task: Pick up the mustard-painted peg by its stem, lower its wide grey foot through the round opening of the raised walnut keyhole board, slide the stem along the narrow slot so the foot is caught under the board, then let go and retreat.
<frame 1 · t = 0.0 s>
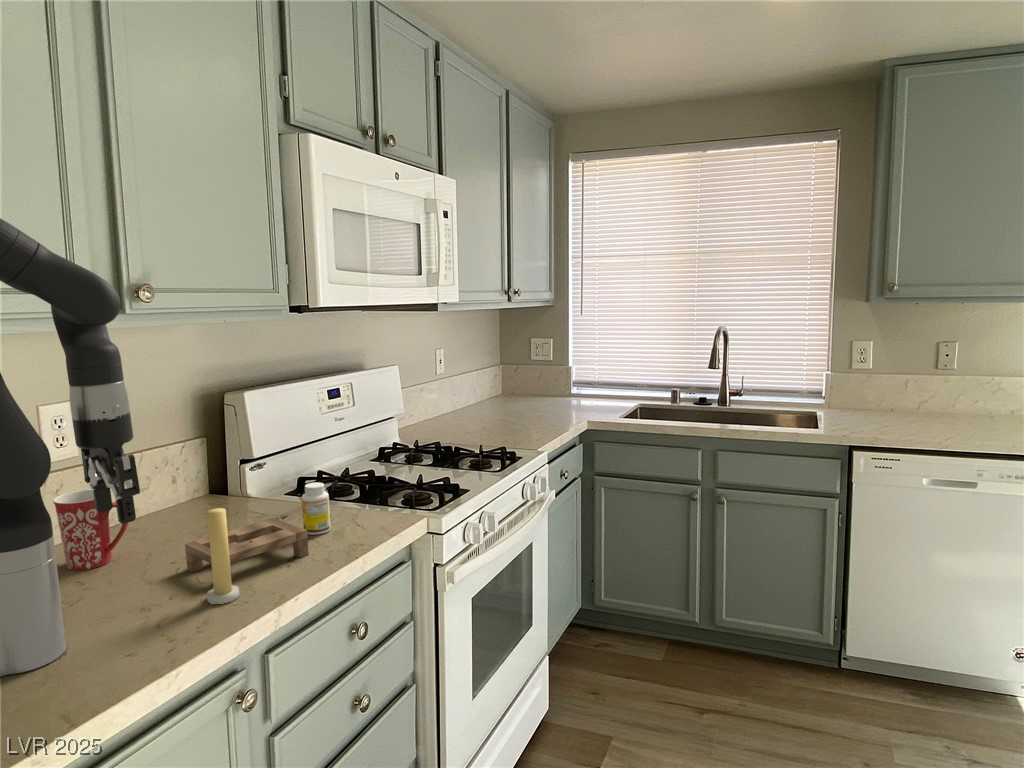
hand: (115, 516, 106), 17 cm above the worktop, tool pointing down, fingers open, 8 cm apart
mug: (98, 564, 133), on the worktop
keyhole board: (249, 562, 132), on the worktop
peg: (223, 598, 116), on the worktop
supplement bottle: (317, 532, 148), on the worktop
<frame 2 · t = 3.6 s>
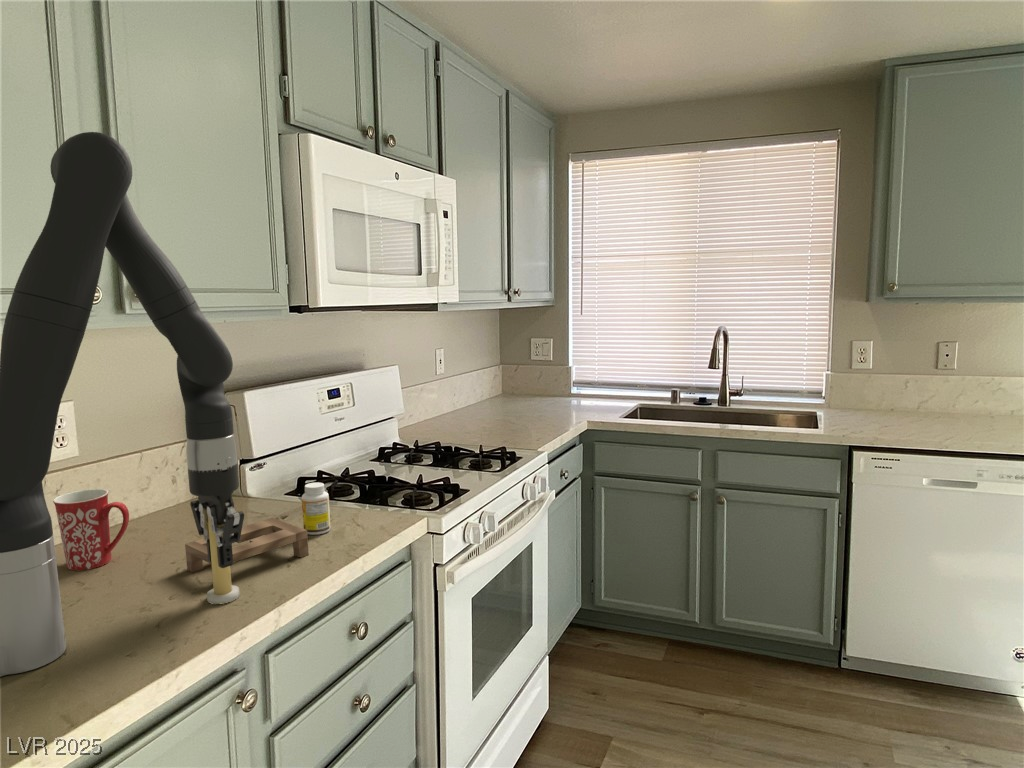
hand: (220, 563, 115), 6 cm above the worktop, tool pointing down, fingers closed on peg, 2 cm apart
peg: (223, 598, 116), on the worktop, touching gripper
everything else where it was.
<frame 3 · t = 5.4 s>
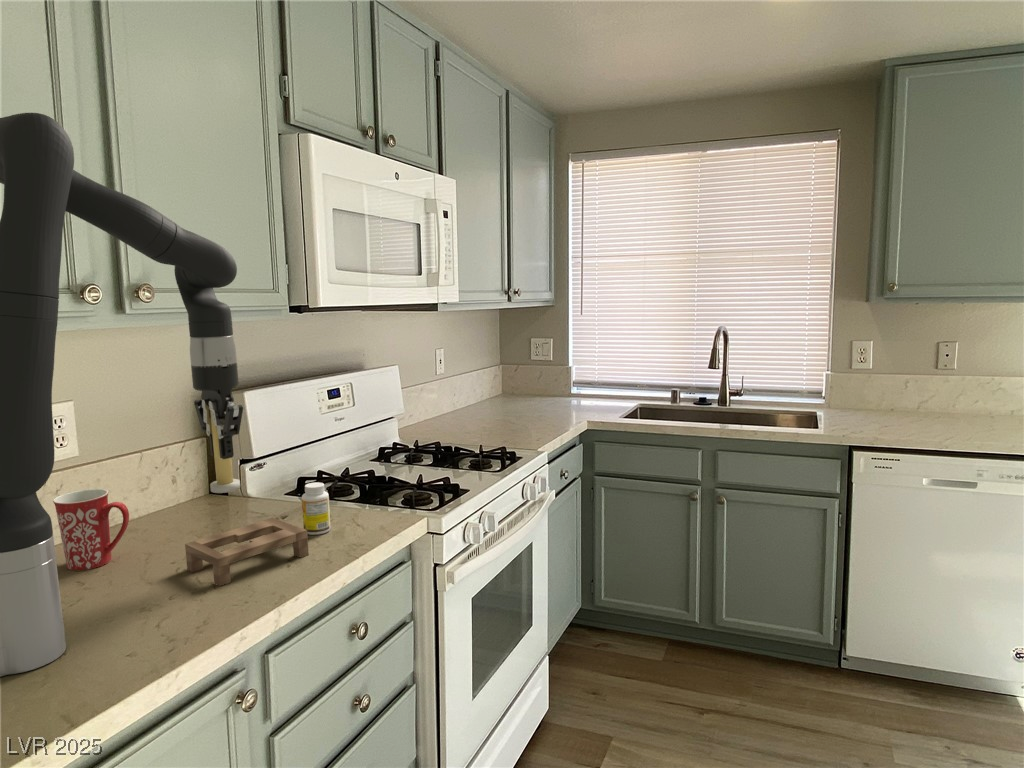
hand: (222, 456, 125), 21 cm above the worktop, tool pointing down, fingers closed on peg, 2 cm apart
peg: (225, 488, 126), point 15 cm above the worktop, touching gripper
everything else where it was.
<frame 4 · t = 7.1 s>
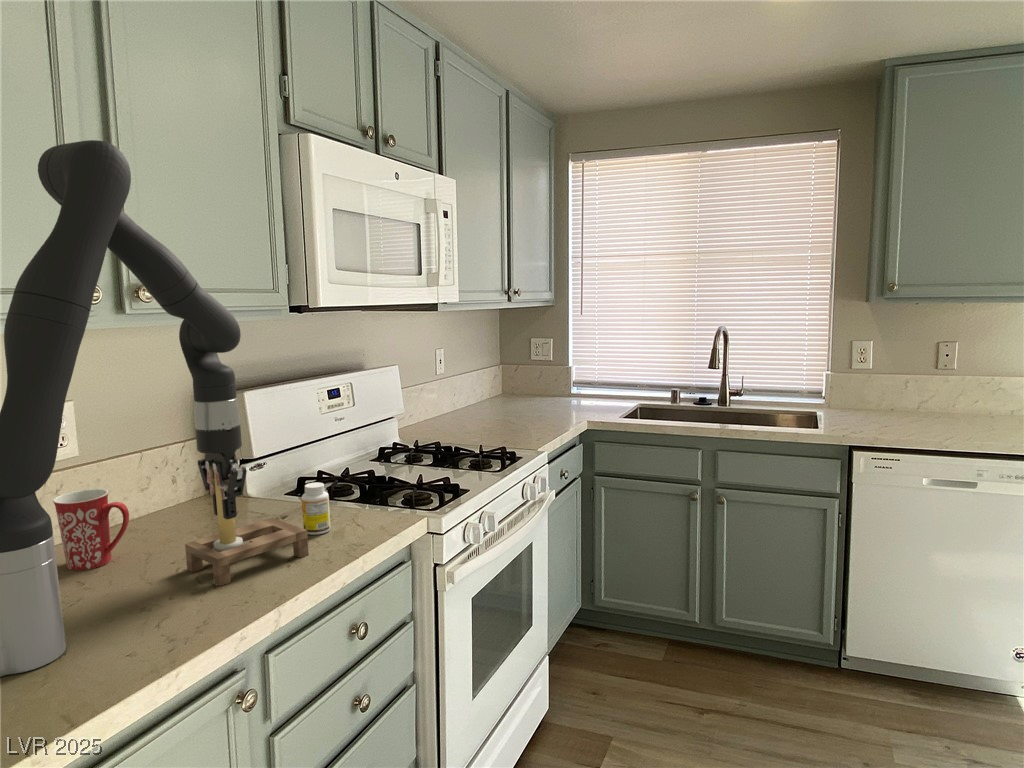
hand: (225, 515, 127), 10 cm above the worktop, tool pointing down, fingers closed on peg, 2 cm apart
peg: (228, 547, 128), point 4 cm above the worktop, touching gripper
everything else where it was.
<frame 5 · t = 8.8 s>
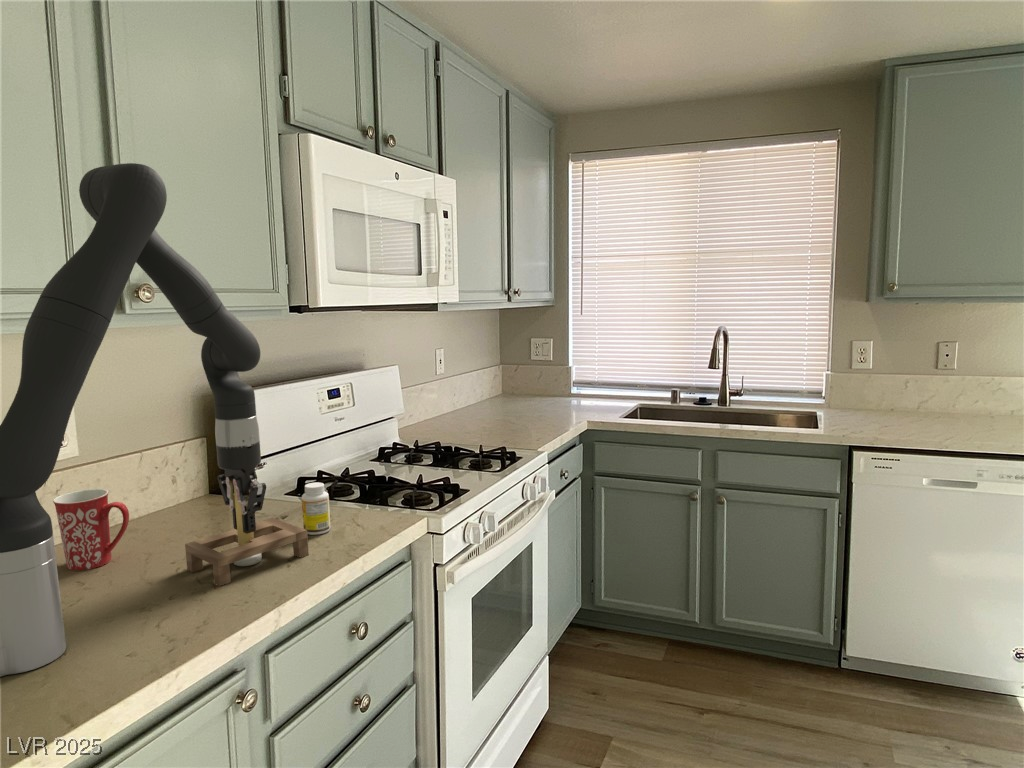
hand: (245, 529, 131), 6 cm above the worktop, tool pointing down, fingers closed on peg, 2 cm apart
peg: (247, 560, 132), on the worktop, touching gripper
everything else where it was.
when the fingers open (6 cm above the worktop, at t = 10.6 s): peg stays where it is, on the worktop.
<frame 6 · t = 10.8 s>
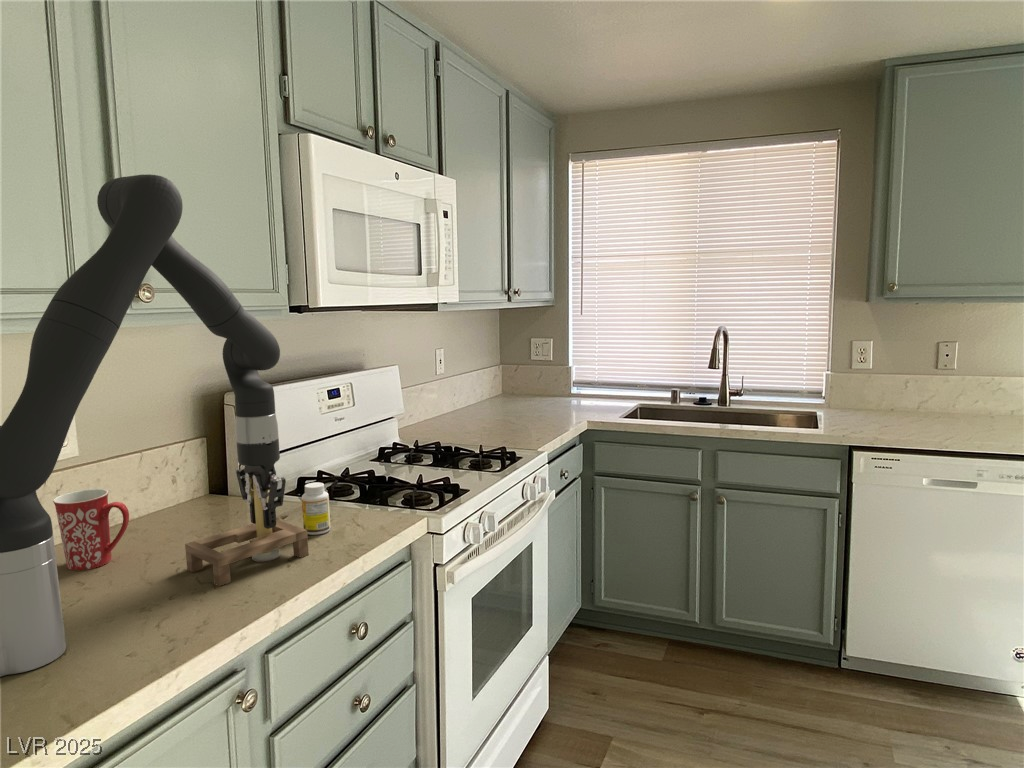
hand: (263, 524, 133), 6 cm above the worktop, tool pointing down, fingers open, 4 cm apart
peg: (266, 556, 134), on the worktop
everything else where it was.
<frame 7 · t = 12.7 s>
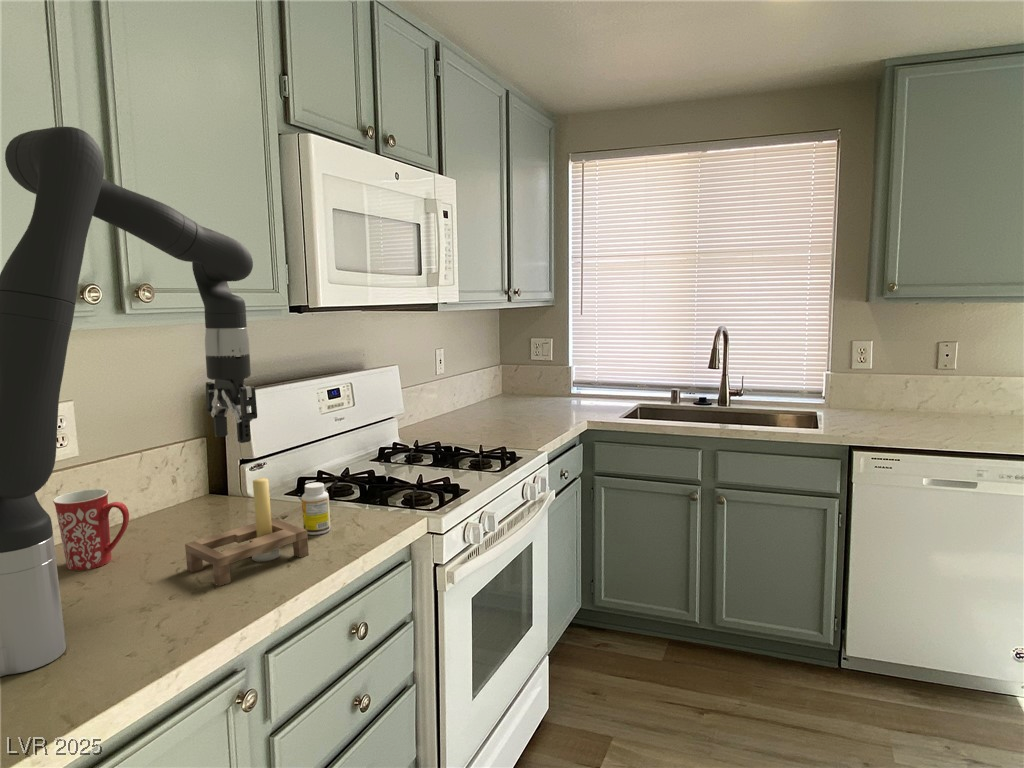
hand: (232, 439, 129), 24 cm above the worktop, tool pointing down, fingers open, 8 cm apart
nothing on the worktop moved.
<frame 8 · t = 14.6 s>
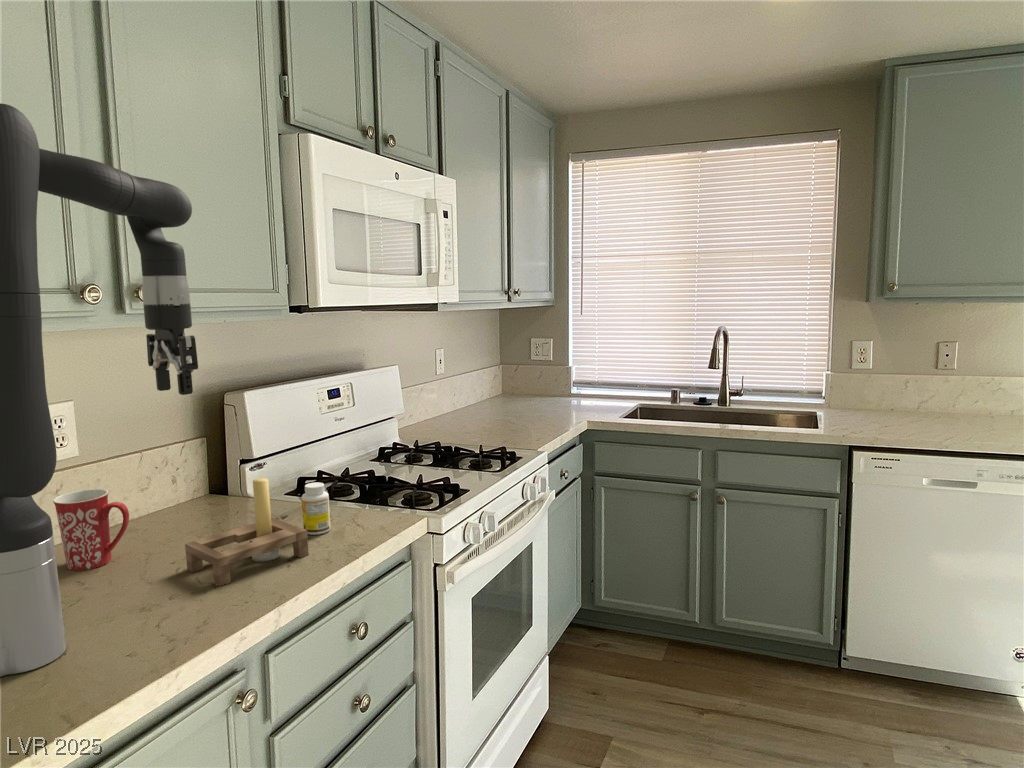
hand: (174, 392, 125), 33 cm above the worktop, tool pointing down, fingers open, 8 cm apart
nothing on the worktop moved.
at the end: peg 0.5 cm from the target spot on the keyhole board, point 0.0 cm above the keyhole board's base; peg tilted 0°; the gripper is holding nothing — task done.
